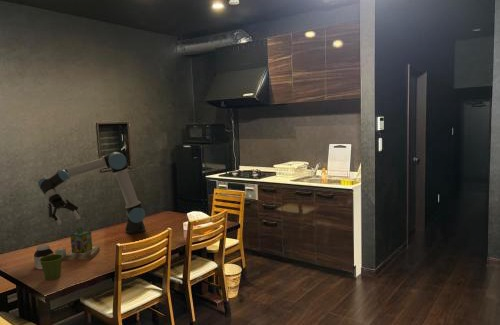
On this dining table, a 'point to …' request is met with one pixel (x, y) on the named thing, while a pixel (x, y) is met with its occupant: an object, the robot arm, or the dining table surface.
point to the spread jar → (41, 254)
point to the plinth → (82, 254)
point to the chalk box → (81, 241)
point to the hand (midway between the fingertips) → (70, 220)
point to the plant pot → (51, 265)
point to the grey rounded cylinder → (61, 252)
